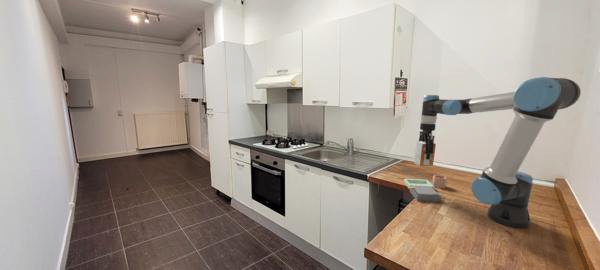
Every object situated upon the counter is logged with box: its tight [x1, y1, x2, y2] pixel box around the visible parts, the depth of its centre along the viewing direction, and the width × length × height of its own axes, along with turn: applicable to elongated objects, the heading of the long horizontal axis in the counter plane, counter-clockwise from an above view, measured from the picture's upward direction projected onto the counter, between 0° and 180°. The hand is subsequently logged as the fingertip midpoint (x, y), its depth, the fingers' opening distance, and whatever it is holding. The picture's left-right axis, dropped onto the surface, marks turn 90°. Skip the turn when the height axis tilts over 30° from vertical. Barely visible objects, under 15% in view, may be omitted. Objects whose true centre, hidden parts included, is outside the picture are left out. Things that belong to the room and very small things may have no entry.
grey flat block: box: [409, 187, 442, 203], centre depth 137 cm, size 12×12×4 cm
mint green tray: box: [403, 178, 435, 190], centre depth 151 cm, size 11×14×2 cm
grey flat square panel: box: [413, 186, 440, 196], centre depth 136 cm, size 10×10×1 cm
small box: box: [413, 140, 437, 167], centre depth 140 cm, size 8×6×13 cm
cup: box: [431, 174, 448, 189], centre depth 152 cm, size 7×7×6 cm
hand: (423, 162), depth 141 cm, fingers closed on small box, 7 cm apart
